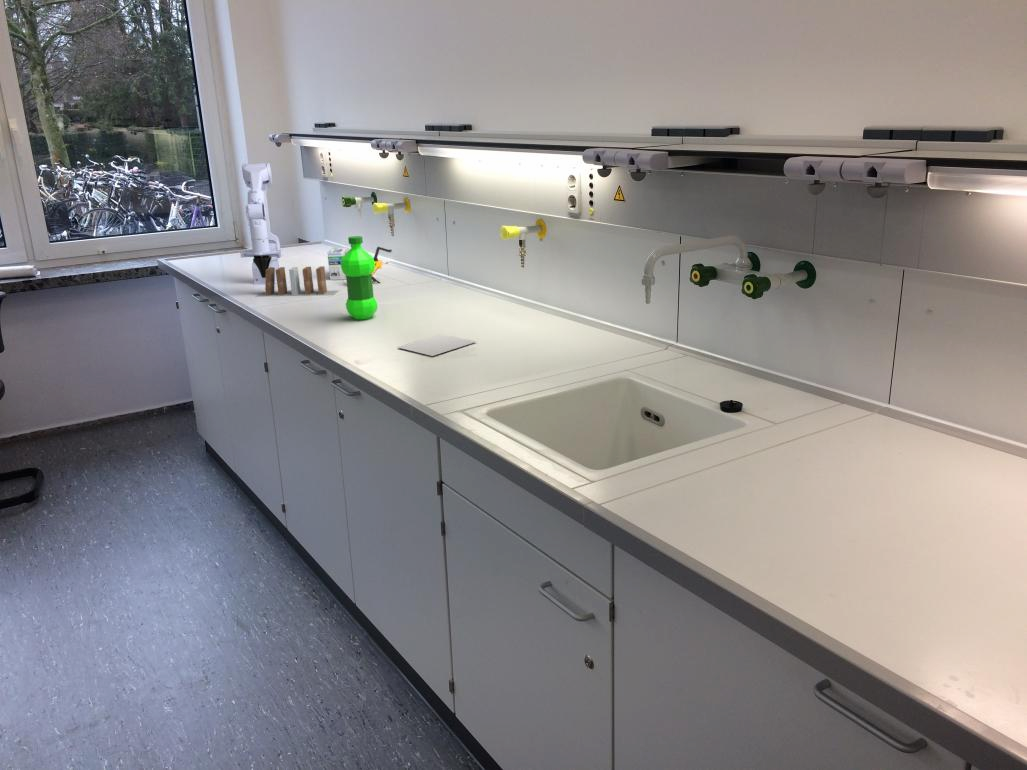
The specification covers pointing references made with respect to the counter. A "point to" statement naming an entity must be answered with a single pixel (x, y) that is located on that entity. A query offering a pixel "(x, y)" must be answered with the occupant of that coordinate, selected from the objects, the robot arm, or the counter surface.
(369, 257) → the plastic bottle
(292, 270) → the grey domino
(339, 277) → the light bulb box
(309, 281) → the domino
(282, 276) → the domino
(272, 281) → the domino
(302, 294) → the rubber mat
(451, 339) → the grey flat square plate
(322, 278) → the domino
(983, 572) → the counter surface
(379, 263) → the robot dog
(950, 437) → the counter surface
